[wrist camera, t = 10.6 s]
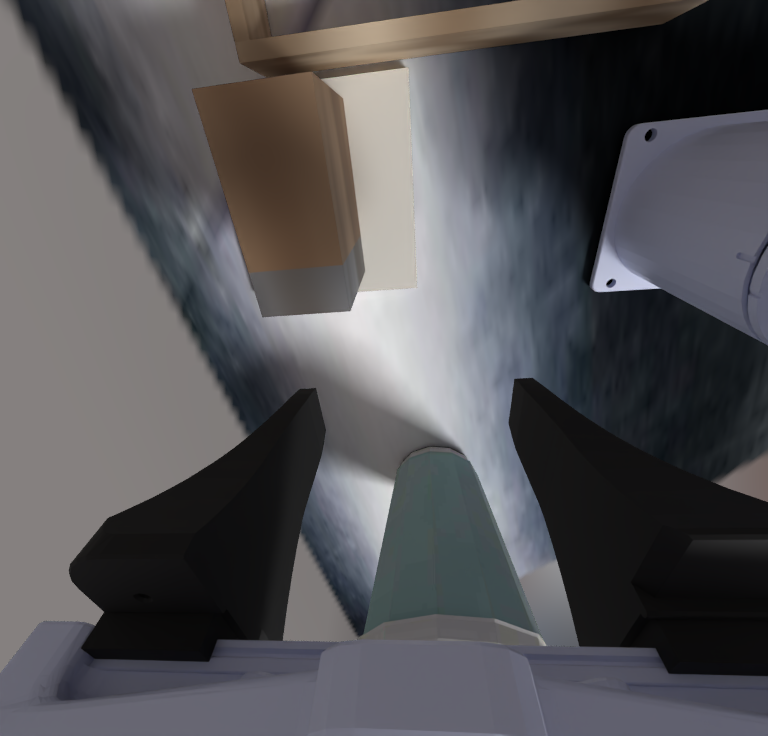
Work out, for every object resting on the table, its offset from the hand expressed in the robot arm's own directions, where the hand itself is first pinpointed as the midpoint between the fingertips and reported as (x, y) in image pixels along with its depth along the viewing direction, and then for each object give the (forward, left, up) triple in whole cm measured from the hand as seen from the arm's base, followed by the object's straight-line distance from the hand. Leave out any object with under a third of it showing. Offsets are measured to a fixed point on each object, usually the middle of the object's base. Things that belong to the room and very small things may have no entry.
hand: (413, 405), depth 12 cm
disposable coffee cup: (-1, +16, -11) cm, 19 cm away
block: (+5, -6, -10) cm, 13 cm away
